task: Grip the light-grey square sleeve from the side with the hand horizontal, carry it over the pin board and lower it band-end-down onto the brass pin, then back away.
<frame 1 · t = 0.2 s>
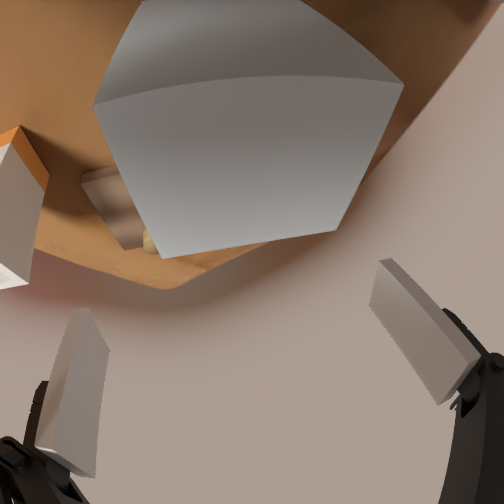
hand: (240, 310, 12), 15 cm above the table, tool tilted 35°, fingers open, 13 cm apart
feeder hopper: (214, 45, 15), on the table
pin board: (191, 195, 28), on the table
sleeve: (9, 162, 17), on the table
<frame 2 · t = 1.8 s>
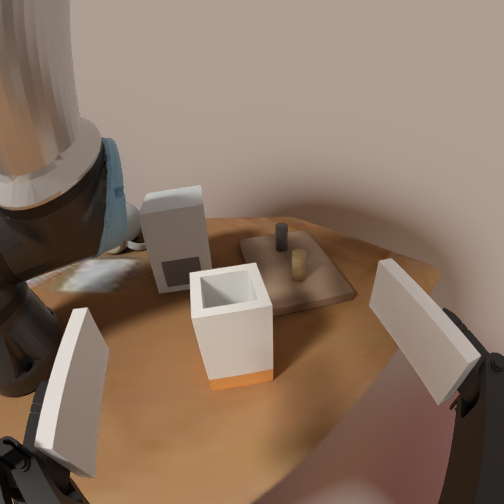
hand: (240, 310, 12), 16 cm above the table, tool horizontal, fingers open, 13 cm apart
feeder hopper: (186, 273, 43), on the table
pin board: (289, 269, 43), on the table
sleeve: (237, 363, 29), on the table
ceramic mug: (129, 245, 53), on the table
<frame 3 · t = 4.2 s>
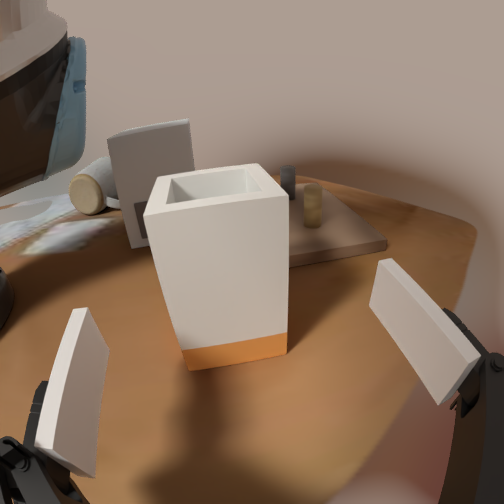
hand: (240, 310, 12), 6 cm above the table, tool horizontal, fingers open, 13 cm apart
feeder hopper: (168, 227, 34), on the table
pin board: (298, 219, 33), on the table
sleeve: (230, 329, 19), on the table
ceramic mug: (109, 207, 43), on the table
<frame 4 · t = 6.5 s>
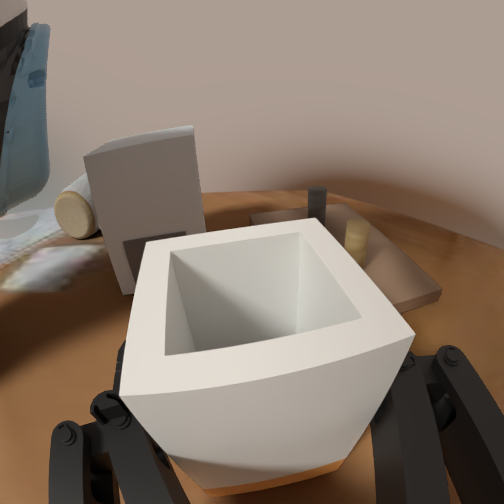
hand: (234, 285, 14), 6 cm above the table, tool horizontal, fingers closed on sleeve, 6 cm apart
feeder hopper: (168, 263, 27), on the table
pin board: (331, 255, 27), on the table
sleeve: (262, 436, 13), on the table, touching gripper
ceramic mug: (103, 228, 36), on the table
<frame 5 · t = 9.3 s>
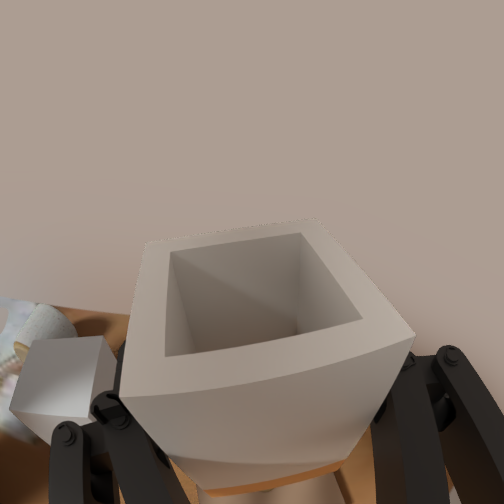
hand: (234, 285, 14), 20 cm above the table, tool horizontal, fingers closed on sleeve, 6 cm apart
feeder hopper: (112, 437, 24), on the table
pin board: (256, 451, 23), on the table
sleeve: (262, 436, 12), point 14 cm above the table, touching gripper
ceramic mug: (63, 361, 33), on the table
when the fingers open (9 cm above the table, at t = 12.1 s): sleeve drops 1 cm, resting on pin board.
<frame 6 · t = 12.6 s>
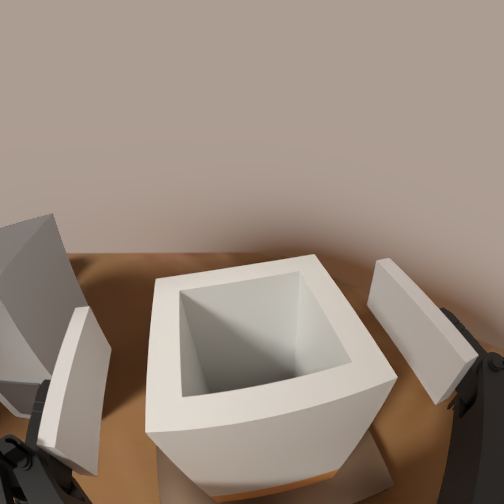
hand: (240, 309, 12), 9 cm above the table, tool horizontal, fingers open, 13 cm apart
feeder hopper: (60, 381, 18), on the table
pin board: (250, 399, 17), on the table
sleeve: (263, 446, 13), point 1 cm above the table, touching pin board
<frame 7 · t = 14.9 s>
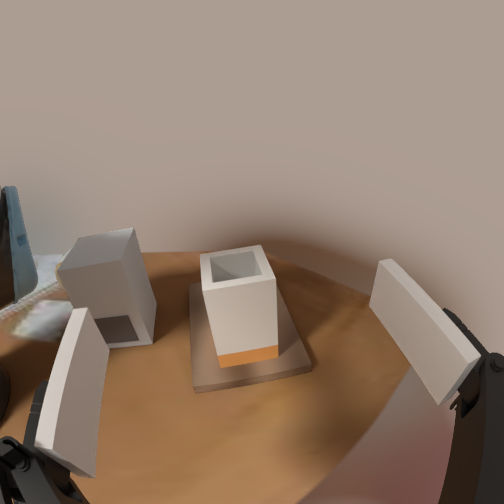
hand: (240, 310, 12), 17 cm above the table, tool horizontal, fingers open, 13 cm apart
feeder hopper: (127, 325, 36), on the table
pin board: (240, 325, 35), on the table
sleeve: (244, 342, 31), point 1 cm above the table, touching pin board
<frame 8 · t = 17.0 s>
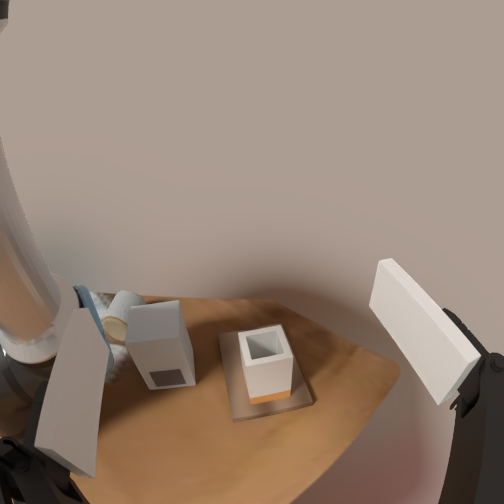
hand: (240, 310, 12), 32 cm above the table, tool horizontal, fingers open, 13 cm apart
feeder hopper: (172, 369, 46), on the table
pin board: (260, 369, 46), on the table
sleeve: (266, 385, 42), point 1 cm above the table, touching pin board
ceramic mug: (136, 330, 55), on the table
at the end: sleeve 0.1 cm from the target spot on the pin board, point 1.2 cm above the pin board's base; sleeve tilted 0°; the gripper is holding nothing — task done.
